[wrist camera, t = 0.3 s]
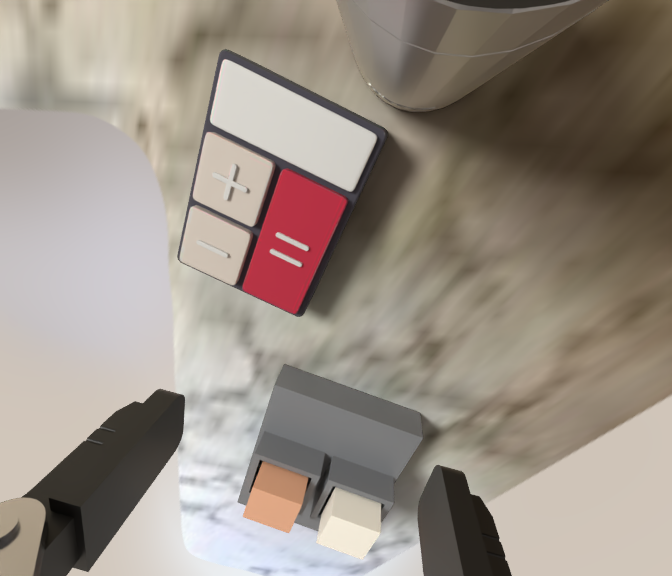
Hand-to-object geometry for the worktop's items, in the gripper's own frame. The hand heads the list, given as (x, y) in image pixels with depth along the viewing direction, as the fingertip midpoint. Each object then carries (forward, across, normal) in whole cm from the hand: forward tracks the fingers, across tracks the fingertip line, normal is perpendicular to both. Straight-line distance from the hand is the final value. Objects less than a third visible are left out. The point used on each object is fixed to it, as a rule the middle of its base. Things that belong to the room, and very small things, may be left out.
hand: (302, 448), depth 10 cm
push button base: (+19, -2, +20) cm, 28 cm away
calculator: (+18, +7, -5) cm, 20 cm away
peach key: (+14, +2, +20) cm, 25 cm away
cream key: (+14, -5, +21) cm, 26 cm away
